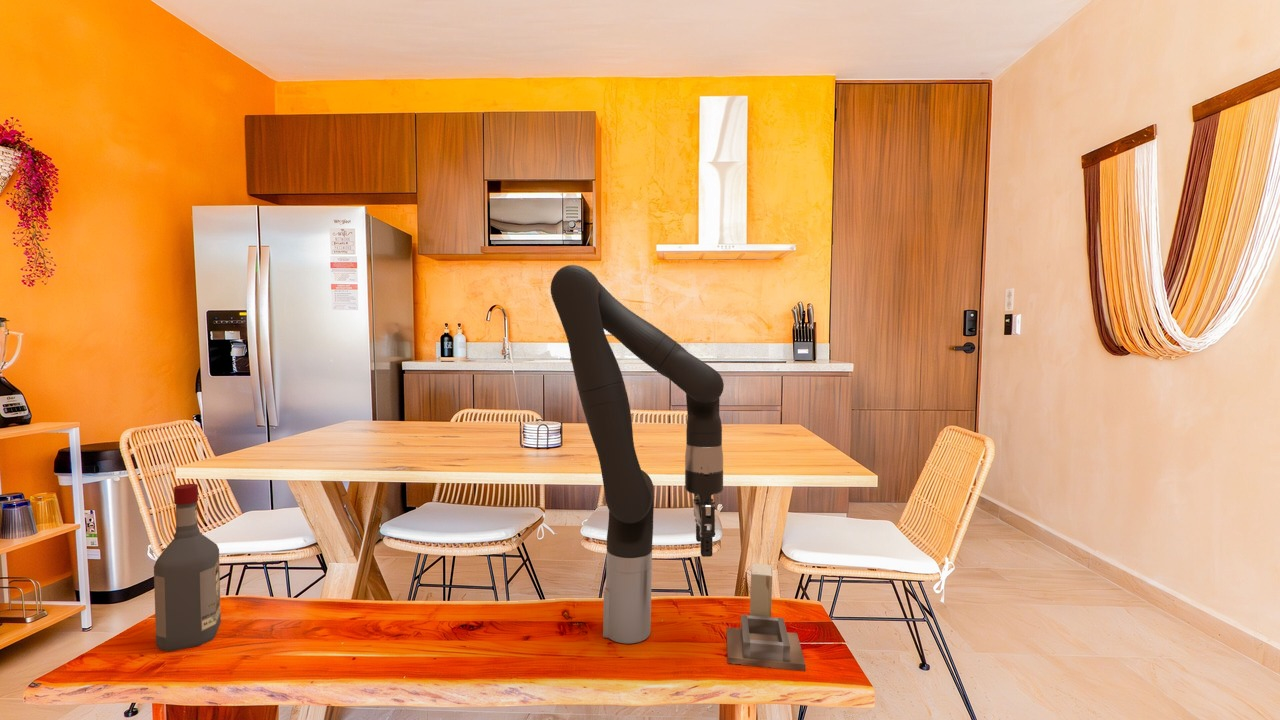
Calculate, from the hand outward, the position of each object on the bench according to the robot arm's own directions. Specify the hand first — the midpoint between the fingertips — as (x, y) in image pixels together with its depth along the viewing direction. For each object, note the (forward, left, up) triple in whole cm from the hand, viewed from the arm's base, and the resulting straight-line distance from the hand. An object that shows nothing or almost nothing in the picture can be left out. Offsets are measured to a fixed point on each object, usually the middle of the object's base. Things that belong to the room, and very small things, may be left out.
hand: (703, 548), depth 115 cm
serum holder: (+12, -3, -18) cm, 22 cm away
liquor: (-99, -16, -19) cm, 102 cm away
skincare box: (+12, +7, -19) cm, 23 cm away
